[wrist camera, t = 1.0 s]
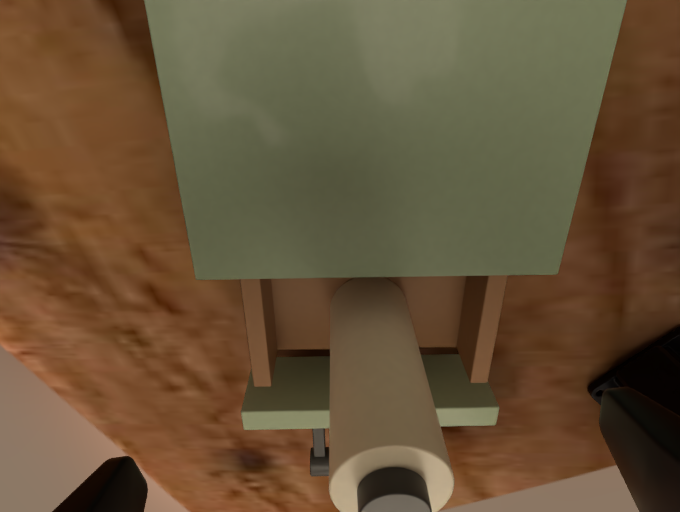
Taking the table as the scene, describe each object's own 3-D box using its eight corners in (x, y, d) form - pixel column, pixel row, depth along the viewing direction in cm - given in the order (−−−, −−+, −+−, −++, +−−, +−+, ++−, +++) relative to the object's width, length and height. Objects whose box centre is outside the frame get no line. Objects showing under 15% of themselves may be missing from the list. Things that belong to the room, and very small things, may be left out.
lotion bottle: (422, 305, 21) (489, 513, 12) (368, 350, 22) (394, 569, 13) (367, 260, 19) (396, 453, 11) (314, 310, 21) (301, 521, 12)
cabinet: (504, 216, 21) (558, 275, 16) (228, 220, 21) (195, 280, 16) (574, -183, 14) (703, -297, 9) (174, -181, 14) (88, -296, 9)
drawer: (462, 430, 26) (482, 490, 23) (263, 434, 26) (253, 494, 23) (514, 128, 18) (556, 150, 15) (225, 131, 18) (200, 154, 15)
